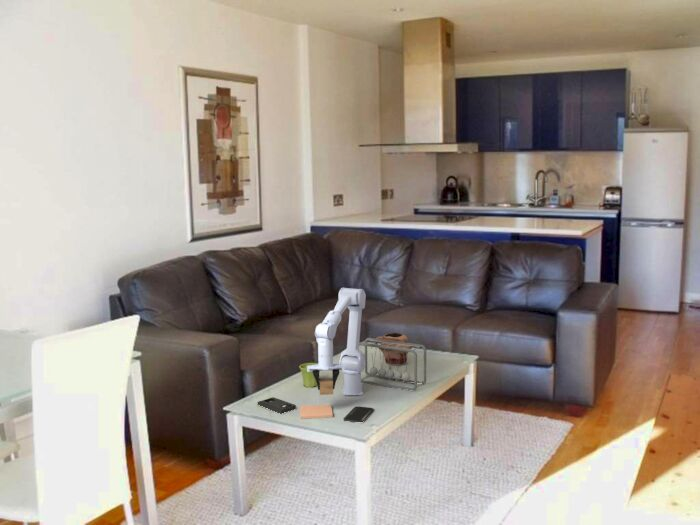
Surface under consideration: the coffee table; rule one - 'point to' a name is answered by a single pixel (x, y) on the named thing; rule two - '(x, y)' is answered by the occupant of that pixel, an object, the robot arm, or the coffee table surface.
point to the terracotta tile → (316, 411)
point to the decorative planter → (395, 355)
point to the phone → (358, 414)
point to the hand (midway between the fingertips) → (326, 388)
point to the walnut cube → (326, 386)
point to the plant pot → (308, 375)
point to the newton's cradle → (390, 373)
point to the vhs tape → (277, 405)
